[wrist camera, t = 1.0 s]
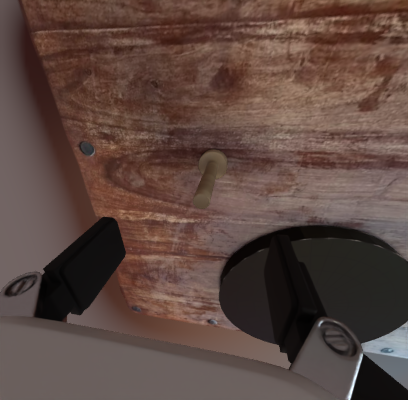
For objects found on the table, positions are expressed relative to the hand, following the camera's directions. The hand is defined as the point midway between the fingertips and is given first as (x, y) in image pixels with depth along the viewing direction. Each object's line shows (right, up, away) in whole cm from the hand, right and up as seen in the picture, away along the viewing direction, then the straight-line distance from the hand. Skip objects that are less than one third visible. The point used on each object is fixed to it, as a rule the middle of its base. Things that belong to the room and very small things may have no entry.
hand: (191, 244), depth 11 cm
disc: (+19, -14, +22) cm, 32 cm away
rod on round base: (+2, +7, +12) cm, 14 cm away
